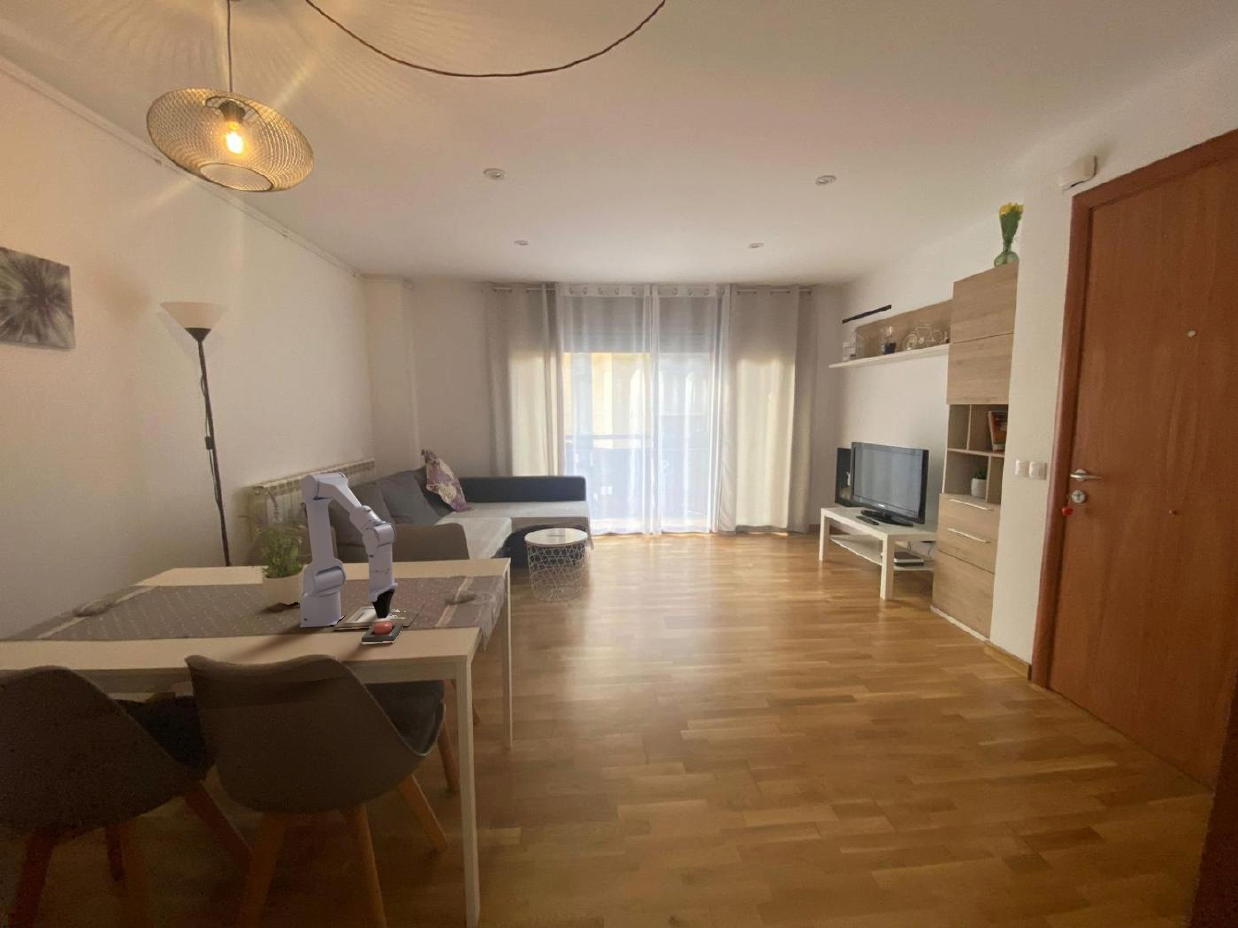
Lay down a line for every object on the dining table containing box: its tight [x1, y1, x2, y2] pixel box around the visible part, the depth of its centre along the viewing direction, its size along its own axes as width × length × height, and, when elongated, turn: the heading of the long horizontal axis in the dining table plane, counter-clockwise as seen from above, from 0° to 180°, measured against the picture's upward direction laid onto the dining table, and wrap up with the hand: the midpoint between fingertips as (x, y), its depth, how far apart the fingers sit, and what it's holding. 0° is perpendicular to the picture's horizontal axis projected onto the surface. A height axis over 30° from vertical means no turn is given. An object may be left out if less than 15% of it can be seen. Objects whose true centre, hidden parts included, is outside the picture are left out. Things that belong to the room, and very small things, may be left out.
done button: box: [374, 621, 392, 635], centre depth 125 cm, size 4×4×2 cm
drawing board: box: [333, 604, 406, 630], centre depth 138 cm, size 20×16×1 cm
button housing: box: [361, 623, 404, 643], centre depth 125 cm, size 8×8×2 cm
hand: (382, 617), depth 125 cm, fingers closed
